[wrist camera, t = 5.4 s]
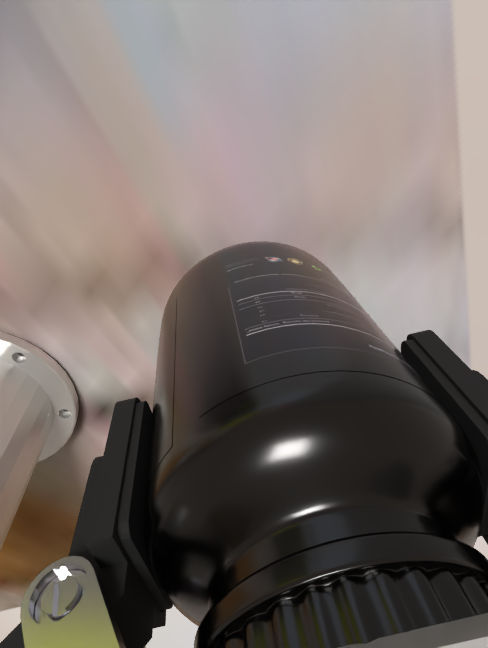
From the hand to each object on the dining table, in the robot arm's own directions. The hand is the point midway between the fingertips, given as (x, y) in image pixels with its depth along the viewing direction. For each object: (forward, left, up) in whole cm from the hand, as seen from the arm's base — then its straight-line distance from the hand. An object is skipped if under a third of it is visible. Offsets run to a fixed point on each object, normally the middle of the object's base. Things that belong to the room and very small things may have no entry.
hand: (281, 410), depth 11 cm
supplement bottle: (0, 0, -5) cm, 5 cm away
